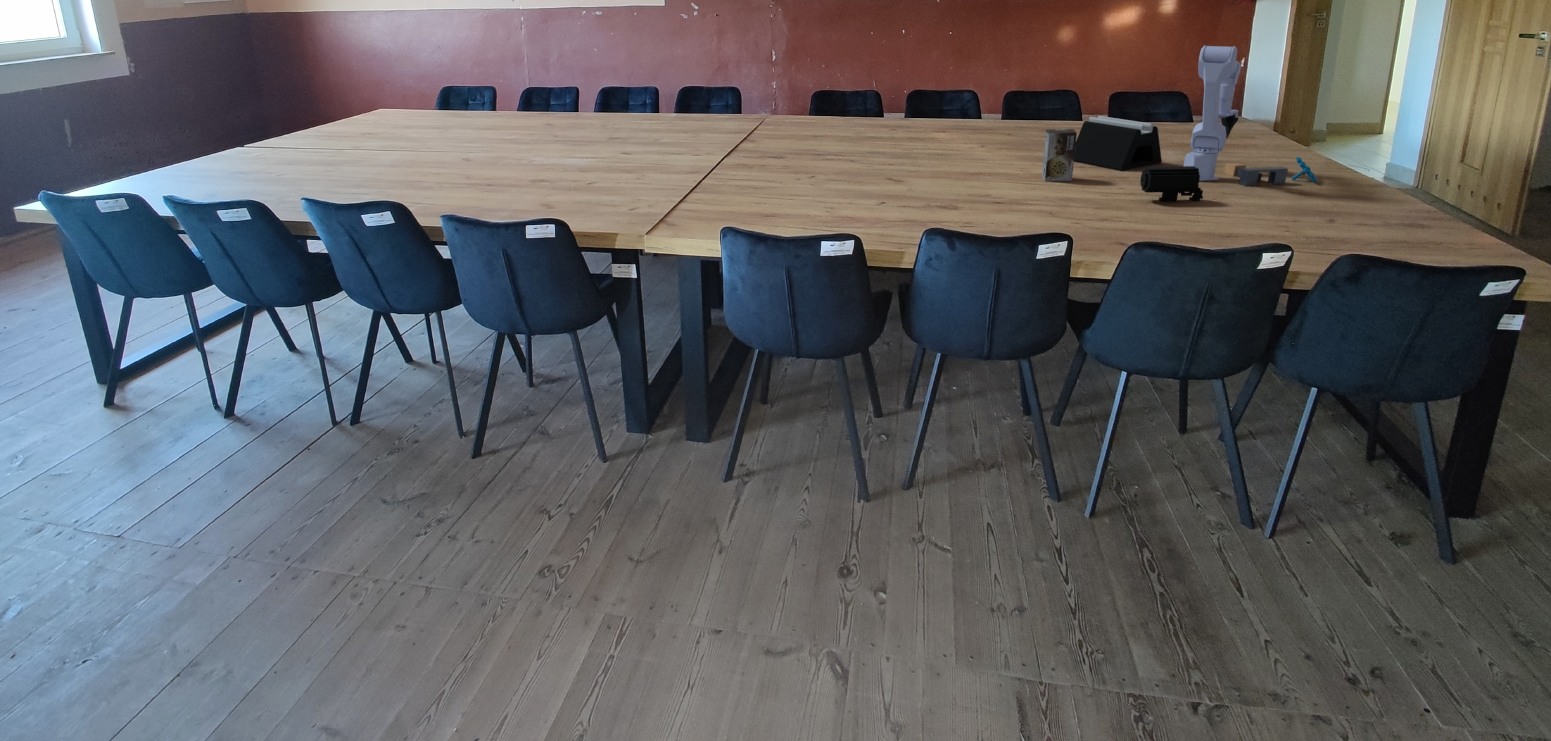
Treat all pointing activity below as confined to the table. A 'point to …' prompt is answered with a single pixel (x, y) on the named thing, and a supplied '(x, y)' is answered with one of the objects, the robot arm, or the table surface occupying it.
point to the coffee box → (1059, 154)
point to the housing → (1251, 174)
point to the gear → (1304, 171)
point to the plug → (1237, 169)
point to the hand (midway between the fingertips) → (1216, 139)
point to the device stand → (1117, 144)
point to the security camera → (1172, 182)
